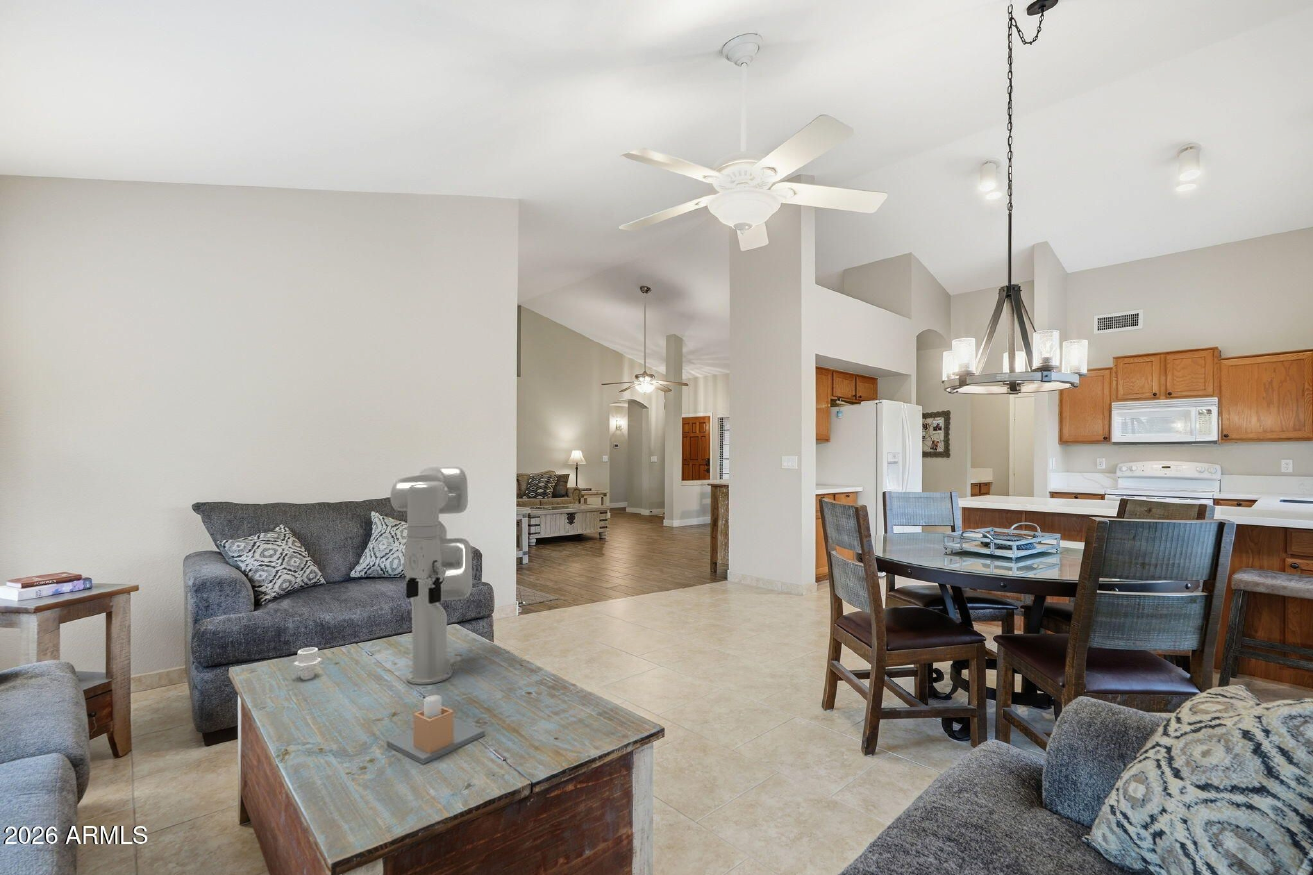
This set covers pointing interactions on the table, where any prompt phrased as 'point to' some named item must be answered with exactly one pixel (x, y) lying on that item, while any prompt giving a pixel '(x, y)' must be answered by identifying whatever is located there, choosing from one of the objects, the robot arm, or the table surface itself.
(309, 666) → the pipe fitting
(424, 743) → the hollow square tube
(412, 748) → the grey peg stand
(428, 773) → the table surface
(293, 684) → the table surface
